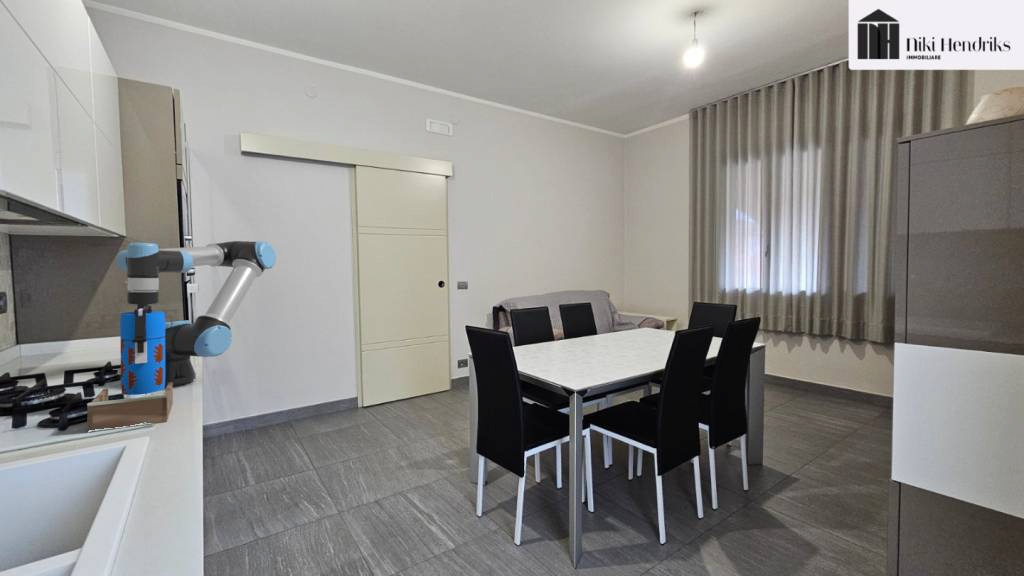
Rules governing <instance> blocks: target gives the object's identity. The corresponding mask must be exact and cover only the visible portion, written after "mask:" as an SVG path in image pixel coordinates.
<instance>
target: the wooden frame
mask: <svg viewBox="0 0 1024 576" xmlns="http://www.w3.org/2000/svg"><path fill="white" fill-rule="evenodd" d="M173 387H174V386H173V382H171V383H168V385H167V386H166V387H165V390H164V393H163V394H159V395H149V396H139V397H130V398H121V399H119V398H118V399H114V400H113V399H112V400H109V388H103V389H102V390H101V391H100V392H99V393H98V394H97V395H96V396H95V397H94V398H93V400H91V402H88V403H86V405H87V407H86V409H87V413H86V414H87V421H86V422H87V425H86V426H87V427H86V429H87V430H86V432H87V431H89V430H95V429H104V428H115V427H123V426H130V425H135V424H140V423H144V422H146V423H154V424H153V425H155V424H163V423H167V422H168V419H169V416H170V413H171V410H172V407H173V402H174V400H173V397H174V396H173V395H174V393H173V392H174V391H173Z"/></svg>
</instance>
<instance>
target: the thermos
mask: <svg viewBox="0 0 1024 576" xmlns="http://www.w3.org/2000/svg"><path fill="white" fill-rule="evenodd" d="M139 317H142V316H139ZM119 319H120V322H119V323H120V325H119V326H120V327H119V328H120V330H119V331H120V385H121V386H120V388H121V394H123V395H127V396H135V395H136V396H138V395H146V394H152V393H156V392H159V391H162V390H164V389H166V387H165V323H166V315H165V312H164V311H155V310H154V311H153V310H152V313H149V314H146V342H147V363H137V364H135V343H132V340H134V333H135V314H134V311H130V312H129V311H128V312H122V313H121V314H120V318H119Z"/></svg>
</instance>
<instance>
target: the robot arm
mask: <svg viewBox="0 0 1024 576" xmlns="http://www.w3.org/2000/svg"><path fill="white" fill-rule="evenodd" d="M276 258H277V257H276V252H275V249H274V247H273V246H272V245H271V244H270V243H269V242H267V241H261V240H257V241H248V240H245V241H243V240H240V241H239V240H232V241H226V242H218V243H208V244H206V245H205V246H191V247H189V246H188V247H187V246H186V247H169V248H168V247H167V248H159V245H158V244H157V243H152V242H129V244H127V247H126V249H123V250H121V251H120V252H118V254H117V255H116V258H115V263H116V265H117V267H118V268H119V269H120V270H122V271H125V272H126V274H127V280H124V284H126V285H127V290H128V292H127V295H126V297H127V302H126V303H127V304H130V305H137V308H136V309H134V310H133V312H134V314H135V333H134V340H132V343H135V364H137V363H147V342H146V314H149V313H152V311H153V309H152V306H151V305H152V304H153V305H155V304H158V303H159V299H160V297H159V292H158V291H159V290H160V289H159V288H160V284H159V283H160V282H159V281H160V278H159V277H160V276H159V274H160V273H164V274H165V273H167V274H168V273H169V274H175V273H176V274H181V273H182V274H183V273H188V272H190V271H191V269H192V268H193V267H197V266H198V267H199V266H200V267H201V266H210V267H215V268H216V267H225V268H226V267H227V268H228V267H229V268H233V269H232V270H231V271H230V273H229V275H228V276H227V278H226V280H225V282H223V284H222V286H221V288H220V289H219V291H218V293H217V294H216V296H215V297H214V299H213V301H212V302H211V304H210V306H209V307H208V309H207V310H206V312H205V314H202V315H198V316H197V317H196V320H195V321H194V323H193V324H192V323H191V321H190V320H189V319H188V320H177V321H167V322H166V321H165V386H166V387H167V385H168V383H171V382H173V387H175V386H181V385H185V384H190V383H192V382H191V381H193V380H194V379H197V378H196V375H197V374H196V371H195V369H194V367H193V364H192V361H191V357H200V358H214V357H218V356H220V355H221V356H222V355H223V354H224V353H225V352H226V351H227V350H228V349H229V347H230V346H231V344H232V340H233V339H232V337H233V336H232V335H233V333H232V331H231V330H232V328H231V325H230V323H231V321H232V319H233V317H234V315H235V314H236V312H237V311H238V308H239V307H240V305H241V303H242V301H243V300H244V297H245V296H246V295H247V294H248V291H249V289H250V287H251V286H252V284H253V282H254V280H255V279H256V278H259V277H261V276H262V274H263V273H264V272H265V270H270V269H272V268H273V267H274V266H275V264H276V260H277V259H276ZM139 316H142V317H139ZM189 382H190V383H189ZM193 382H194V381H193Z"/></svg>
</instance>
